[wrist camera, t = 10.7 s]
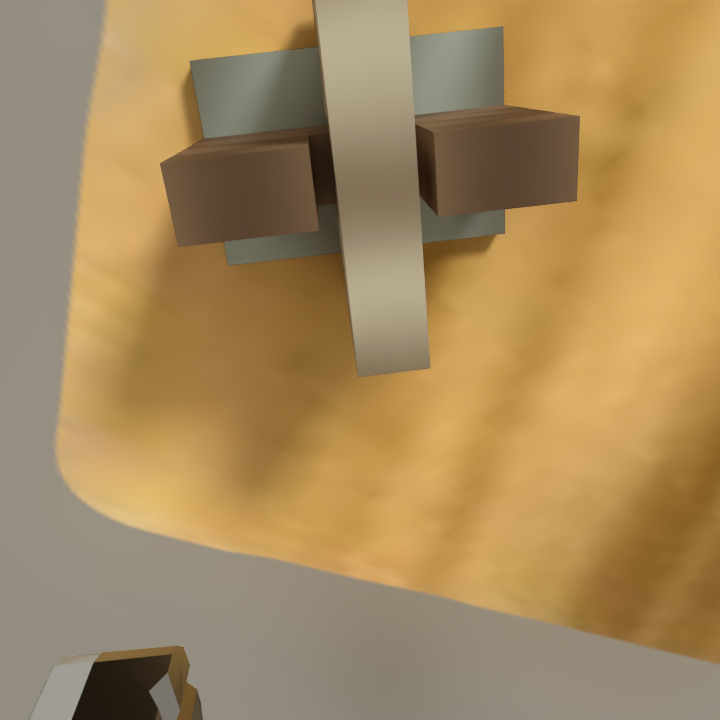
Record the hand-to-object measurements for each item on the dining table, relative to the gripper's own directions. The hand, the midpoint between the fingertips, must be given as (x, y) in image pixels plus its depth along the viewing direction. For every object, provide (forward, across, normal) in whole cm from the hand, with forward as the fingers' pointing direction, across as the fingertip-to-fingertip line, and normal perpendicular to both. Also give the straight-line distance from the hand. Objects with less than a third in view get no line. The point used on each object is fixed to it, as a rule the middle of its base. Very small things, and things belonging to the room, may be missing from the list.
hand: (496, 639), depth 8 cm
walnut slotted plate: (+22, 0, -4) cm, 22 cm away
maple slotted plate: (+21, 0, -4) cm, 21 cm away
